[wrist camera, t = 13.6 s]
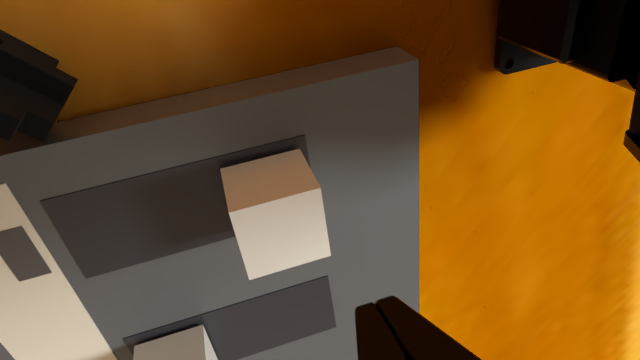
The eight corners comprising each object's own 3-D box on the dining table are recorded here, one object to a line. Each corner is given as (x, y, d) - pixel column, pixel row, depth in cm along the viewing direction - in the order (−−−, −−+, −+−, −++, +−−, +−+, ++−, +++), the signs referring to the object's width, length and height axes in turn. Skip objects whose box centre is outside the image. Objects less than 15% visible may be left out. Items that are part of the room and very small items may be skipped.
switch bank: (397, 46, 19) (420, 60, 17) (406, 371, 32) (420, 397, 31) (-122, 162, 16) (-158, 193, 14) (126, 471, 29) (124, 506, 27)
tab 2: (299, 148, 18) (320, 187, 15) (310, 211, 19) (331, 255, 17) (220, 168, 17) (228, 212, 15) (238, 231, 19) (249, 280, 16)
